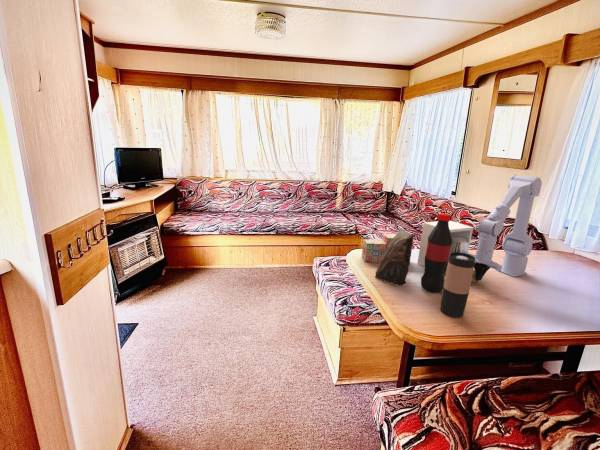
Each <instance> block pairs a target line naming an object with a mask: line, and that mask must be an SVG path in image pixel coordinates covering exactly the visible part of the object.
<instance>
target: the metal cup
mask: <svg viewBox="0 0 600 450" xmlns="http://www.w3.org/2000/svg"><path fill="white" fill-rule="evenodd" d="M452 241H453V242H452V246H451V251H450V253H453V252H459V253H465V254H467V253H469V251H470V246H469V243H470V244H471V241H469V240H466V239H463V238H453V240H452Z"/></svg>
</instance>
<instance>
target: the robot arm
mask: <svg viewBox="0 0 600 450" xmlns="http://www.w3.org/2000/svg"><path fill="white" fill-rule="evenodd" d="M542 184H543V183H542V180H541V178H540V177H539V176H538V177H537V176H536V177H534V176H526V175H517V174H512V176H511V177H509V179H508V182H507V188H508V189H507V191H506V193H505V195H504V197H503V199H502V200H501V202H500V203H498V204H496V205H494V207H493V208H492V210H491V211H490V213H489V214H488V216H487V217H486V218H483V219H482V220H481V221H480V222H479V224H478V227H477V230H478V237H479V238H478V241H477V248H476V253H475V254H472V253H469V252H468V253H467V254H469V255H471V256H473V257H475V259H476V260H475V265H474V270H475V273H476V281H475V282H481V281H482V279H483V277H484V276H485V275H486V273H487V272H488V271H489V270H490V269H494V270H495V271H497V272H501V273H504V274H506V275H508V276H511V277H513V278H514V277H519V276H525V275H527V274H528V273H527V272H526V269H527V264H528V261H529V259H528V256H529V255H530V254H531V252H532V250H533V238H532V237H530V235H529V234H528V233H527V231H528V227H529V223H530V217H531V213H532V210H533V206H534V205H533V204H534V200H535V198H536V197H539V195H540V193H541V189H542ZM518 199H519V200H518ZM517 201H518V203H517V210H516V213H515V219H514V222H513V227H512V228H513V229H512V231H511V232H508V233H507V234H505V236H504V239H503V241H502V244H501V245H502V246H501V247H502V249H503V252H504V256H503V257H504V258H503V262H502V265H501V264H499V263H497V262H496V261H493V255H494V252H495V247H496V241H497V237H498V236H499V235H500V234H501V232H502V230H503V227H504V224H505V223H504V222H505V221H506V220H507V219H508V217H509V215H510V214H511V207H513V205H514V204H515V202H517Z"/></svg>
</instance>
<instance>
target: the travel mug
mask: <svg viewBox="0 0 600 450" xmlns="http://www.w3.org/2000/svg"><path fill="white" fill-rule="evenodd" d="M475 260H476V259H475V257H473V256H471V255H469V254H465V253H459V252H453V253H450V255H449V260H448V266H447V271H446V274H445V275H444V279H445V281H444V286H443V290H442V293H441V300H440V307H439V311H440V312H441V313H442V315H445V316H446V317H450V318H454V319H458V318H462V317H464V314H465V309H466V306H467V302H468V298H469V294H470V291H471V283H472V281H471V280H472V275H473V270H475V269H474V265H475Z"/></svg>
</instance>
